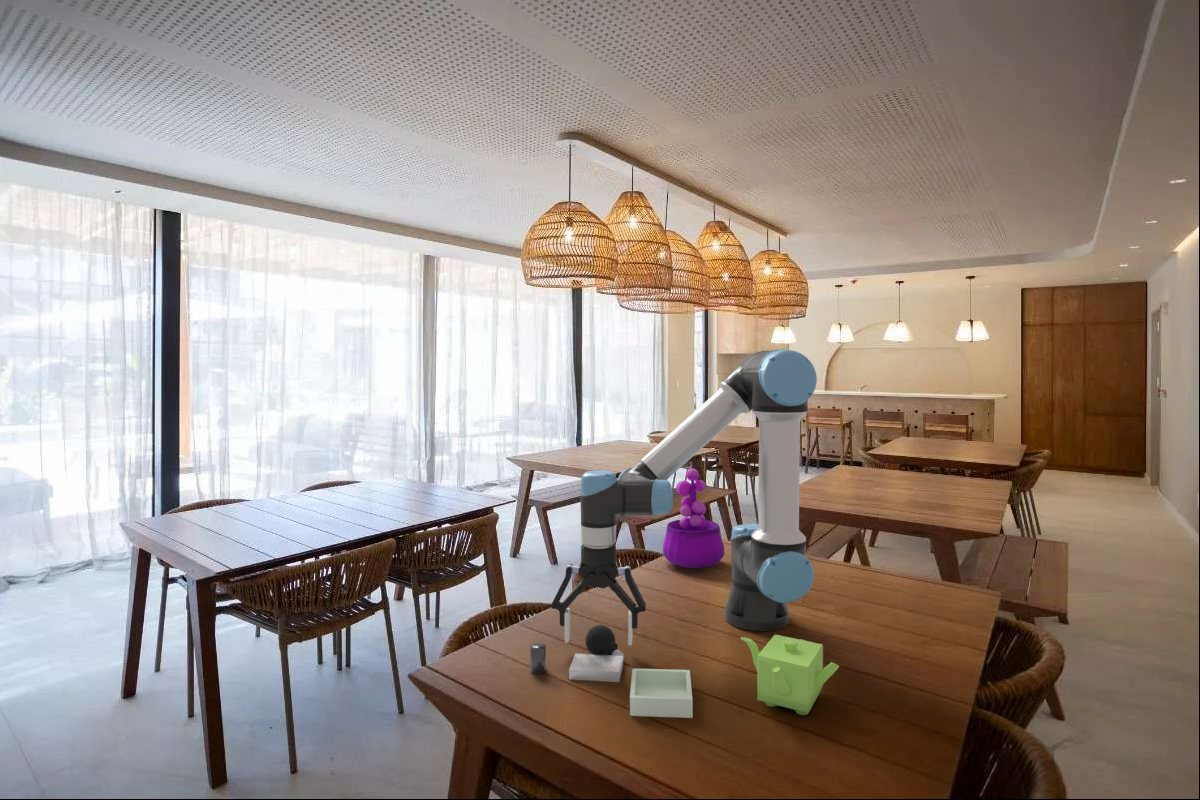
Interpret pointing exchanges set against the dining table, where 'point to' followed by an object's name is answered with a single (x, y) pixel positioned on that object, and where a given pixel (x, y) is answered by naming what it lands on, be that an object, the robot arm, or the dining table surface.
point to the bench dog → (538, 658)
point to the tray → (661, 693)
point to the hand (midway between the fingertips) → (598, 641)
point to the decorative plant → (693, 530)
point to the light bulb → (602, 641)
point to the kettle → (790, 672)
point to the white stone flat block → (596, 667)
